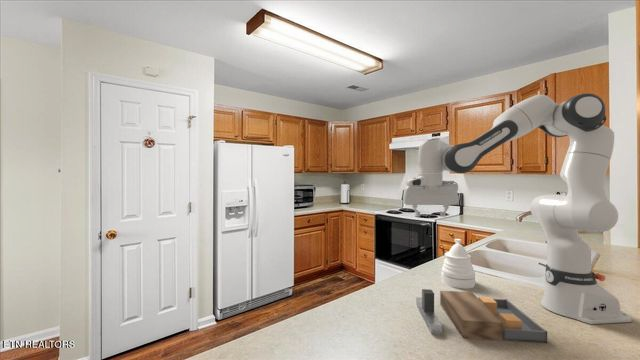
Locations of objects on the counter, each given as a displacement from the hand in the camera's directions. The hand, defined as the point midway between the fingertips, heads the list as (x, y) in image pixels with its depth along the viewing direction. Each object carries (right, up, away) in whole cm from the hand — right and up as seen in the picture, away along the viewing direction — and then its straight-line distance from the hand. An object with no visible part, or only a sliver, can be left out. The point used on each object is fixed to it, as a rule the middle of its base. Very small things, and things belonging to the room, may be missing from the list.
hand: (430, 216), depth 108 cm
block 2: (+10, -28, -27) cm, 40 cm away
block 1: (+11, -28, -16) cm, 34 cm away
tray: (+15, -30, -22) cm, 40 cm away
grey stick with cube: (-8, -31, -19) cm, 37 cm away
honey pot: (+16, -30, +10) cm, 35 cm away
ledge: (+4, -30, -20) cm, 37 cm away
